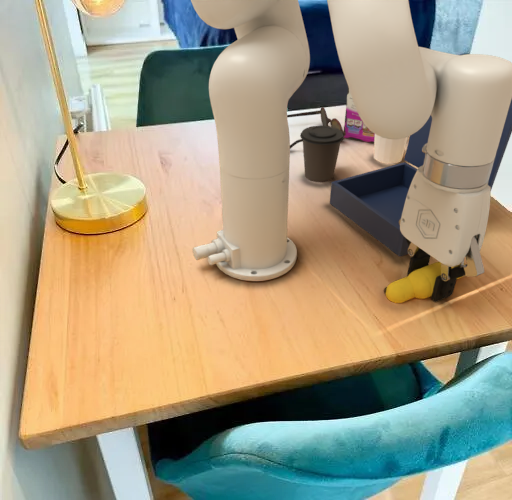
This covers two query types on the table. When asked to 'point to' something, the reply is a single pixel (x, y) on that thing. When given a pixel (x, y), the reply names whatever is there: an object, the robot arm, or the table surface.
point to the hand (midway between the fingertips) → (428, 286)
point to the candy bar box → (356, 123)
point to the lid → (422, 135)
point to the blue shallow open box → (376, 202)
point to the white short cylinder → (389, 149)
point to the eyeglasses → (324, 119)
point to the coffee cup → (321, 152)
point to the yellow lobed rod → (414, 284)
